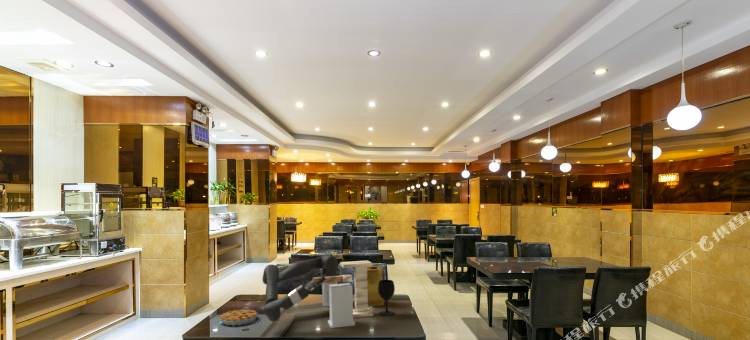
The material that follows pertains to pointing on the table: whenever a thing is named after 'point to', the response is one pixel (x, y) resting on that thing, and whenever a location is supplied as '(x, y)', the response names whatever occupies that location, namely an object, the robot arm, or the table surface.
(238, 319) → the pie
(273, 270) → the robot arm
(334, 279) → the peg
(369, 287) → the pitcher
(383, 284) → the wine glass
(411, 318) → the table surface
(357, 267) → the square pedestal column
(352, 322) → the white flanged block
